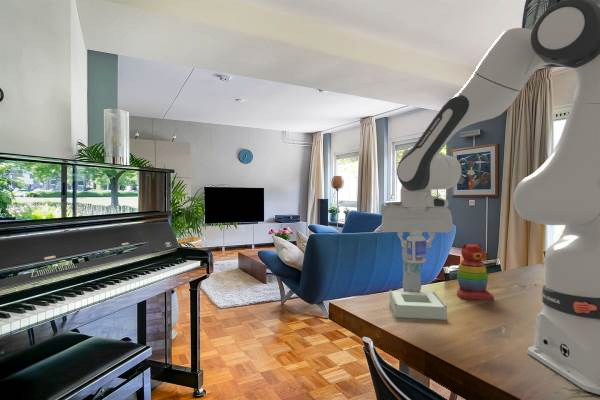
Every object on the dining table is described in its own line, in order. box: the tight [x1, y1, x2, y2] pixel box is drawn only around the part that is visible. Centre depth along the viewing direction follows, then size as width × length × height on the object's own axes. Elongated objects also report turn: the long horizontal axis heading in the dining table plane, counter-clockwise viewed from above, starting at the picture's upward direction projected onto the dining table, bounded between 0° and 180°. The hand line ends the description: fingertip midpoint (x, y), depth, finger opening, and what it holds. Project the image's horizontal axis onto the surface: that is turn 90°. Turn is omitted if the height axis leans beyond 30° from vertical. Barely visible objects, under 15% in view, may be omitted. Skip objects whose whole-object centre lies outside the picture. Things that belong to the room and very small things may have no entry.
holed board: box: [389, 289, 448, 321], centre depth 100 cm, size 14×14×4 cm
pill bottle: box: [406, 230, 427, 264], centre depth 100 cm, size 5×5×10 cm
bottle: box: [401, 247, 422, 292], centre depth 118 cm, size 7×7×20 cm
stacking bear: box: [456, 243, 495, 301], centre depth 114 cm, size 11×10×18 cm
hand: (416, 247), depth 100 cm, fingers closed on pill bottle, 5 cm apart
